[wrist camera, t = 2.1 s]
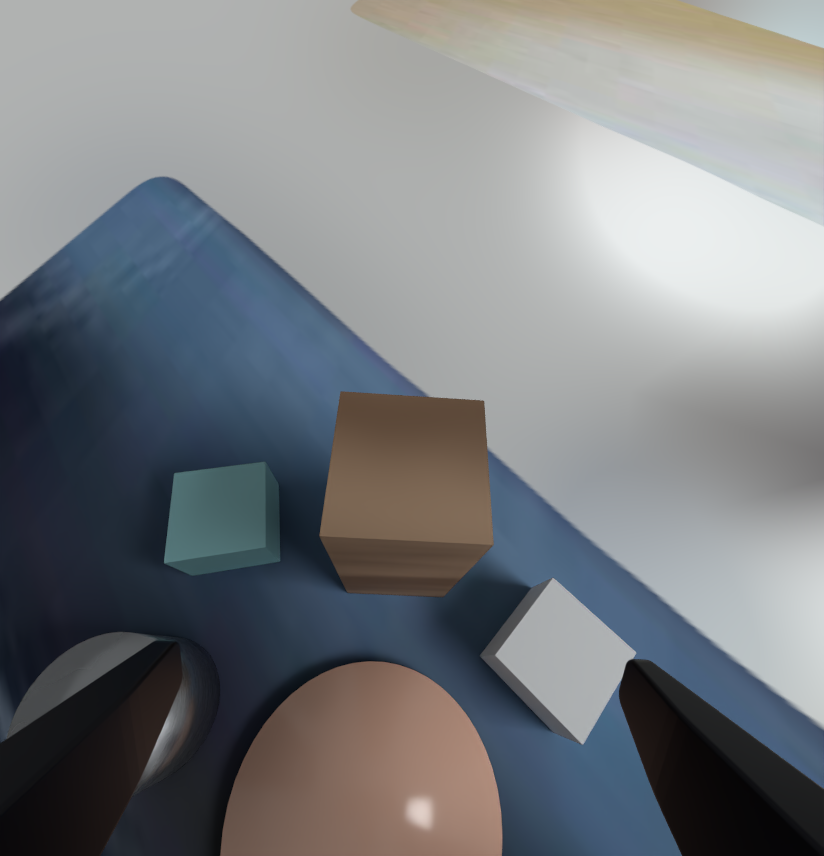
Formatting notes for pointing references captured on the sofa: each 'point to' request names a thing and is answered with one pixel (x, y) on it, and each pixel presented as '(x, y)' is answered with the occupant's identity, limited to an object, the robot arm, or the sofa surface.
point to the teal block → (223, 519)
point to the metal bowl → (106, 652)
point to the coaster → (365, 773)
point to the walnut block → (407, 493)
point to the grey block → (559, 659)
